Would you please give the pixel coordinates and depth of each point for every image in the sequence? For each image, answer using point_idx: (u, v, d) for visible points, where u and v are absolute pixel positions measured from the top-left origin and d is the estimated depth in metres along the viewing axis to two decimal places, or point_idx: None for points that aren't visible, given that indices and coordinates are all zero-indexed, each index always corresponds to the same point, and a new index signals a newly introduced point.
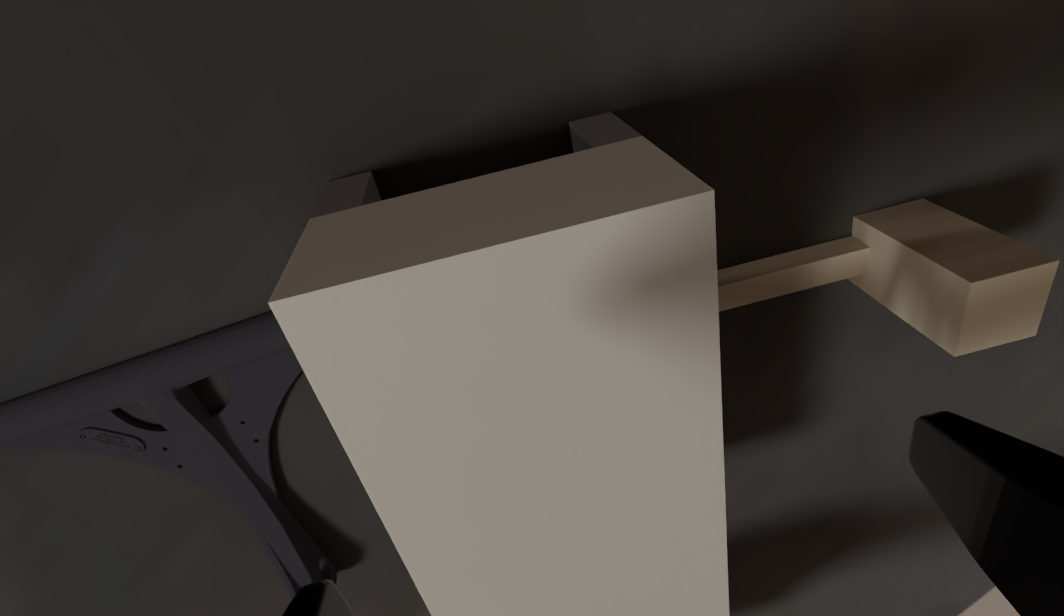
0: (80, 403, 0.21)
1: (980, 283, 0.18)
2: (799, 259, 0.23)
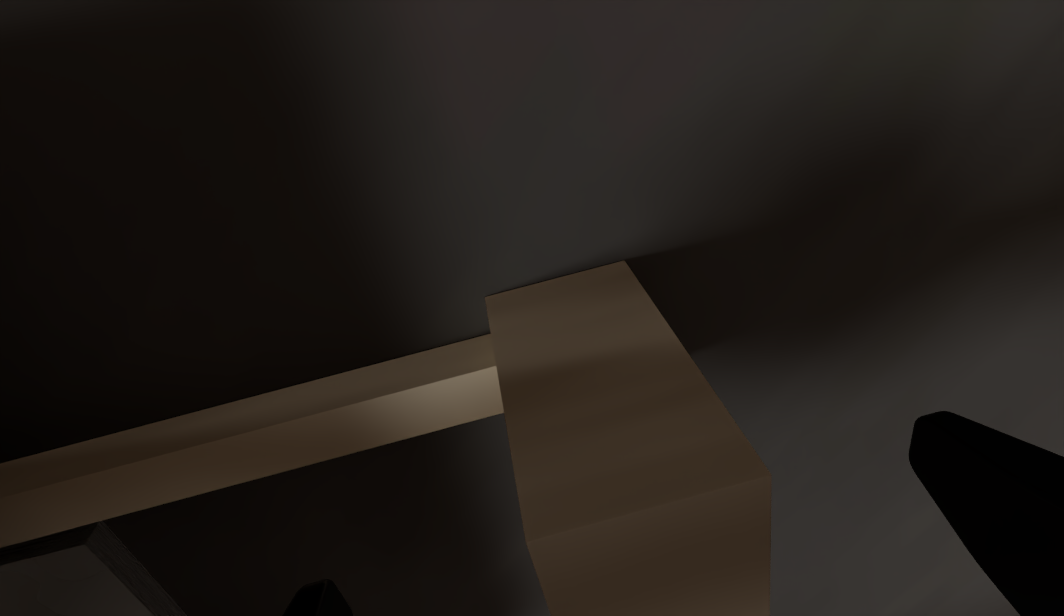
0: None
1: (554, 539, 0.07)
2: (367, 387, 0.12)
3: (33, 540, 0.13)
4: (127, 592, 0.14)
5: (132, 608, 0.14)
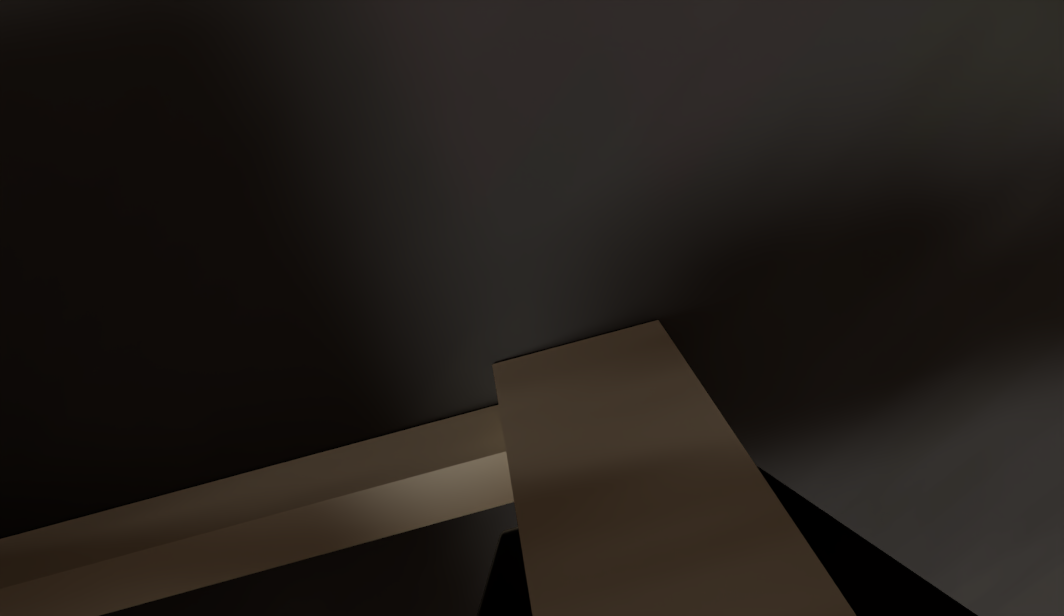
0: None
1: None
2: (352, 475, 0.10)
3: None
4: None
5: None
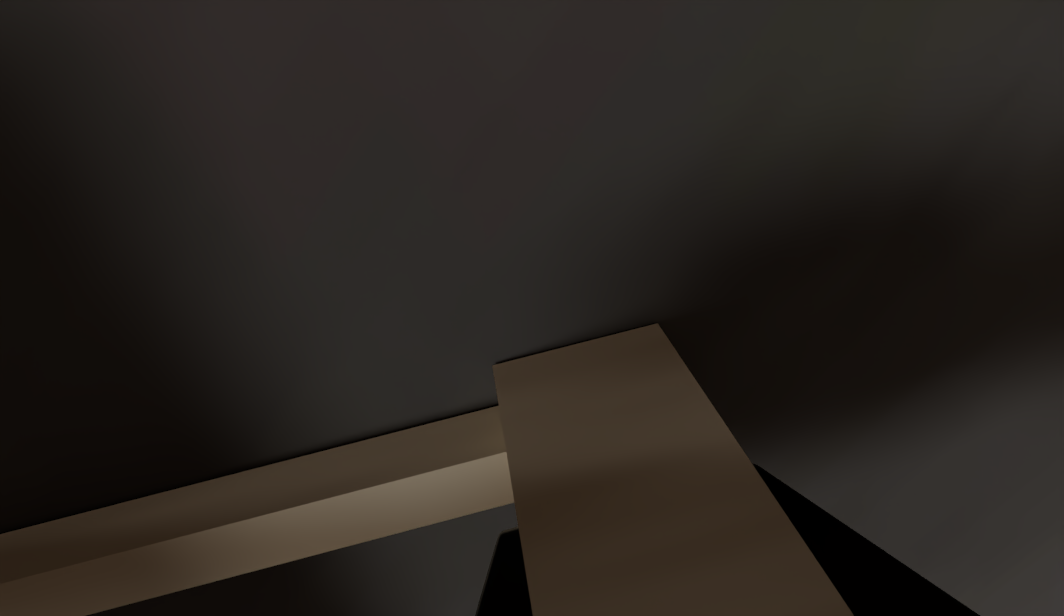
0: None
1: None
2: (351, 474, 0.10)
3: None
4: None
5: None
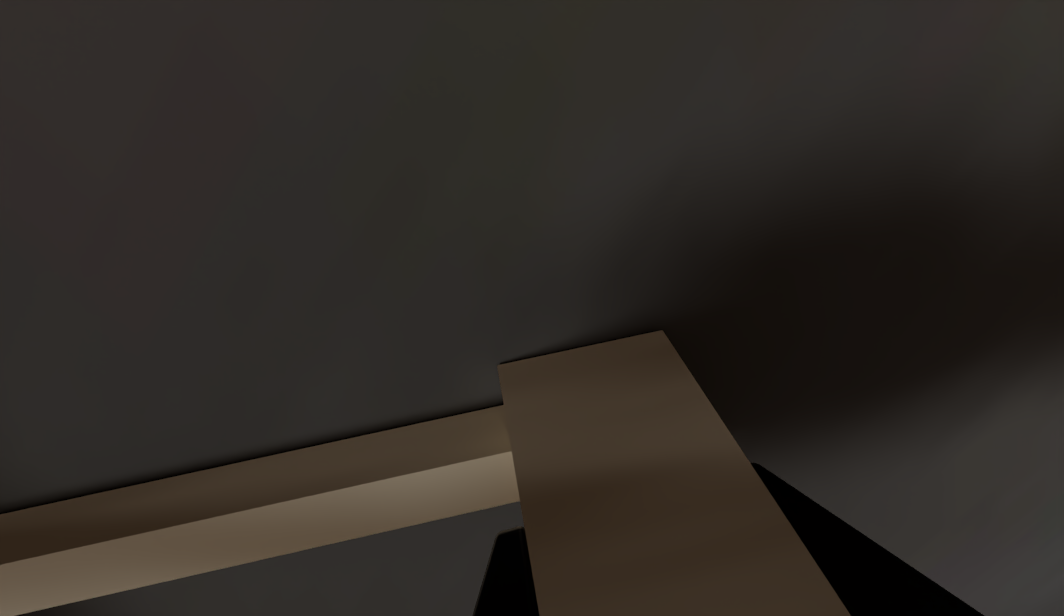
0: None
1: None
2: (351, 468, 0.10)
3: None
4: None
5: None
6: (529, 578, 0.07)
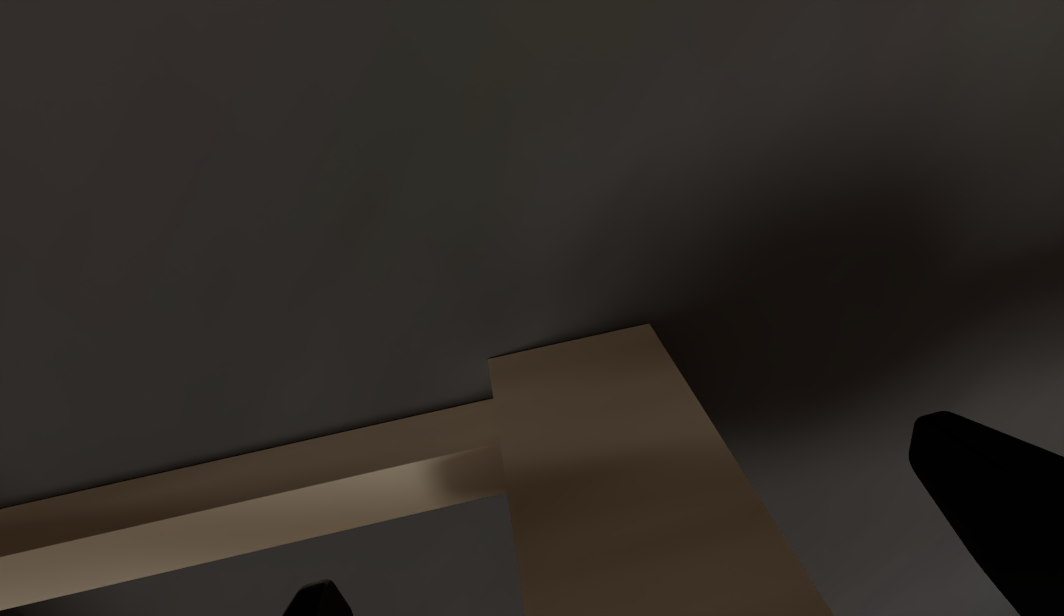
0: None
1: None
2: (347, 460, 0.10)
3: None
4: None
5: None
6: None
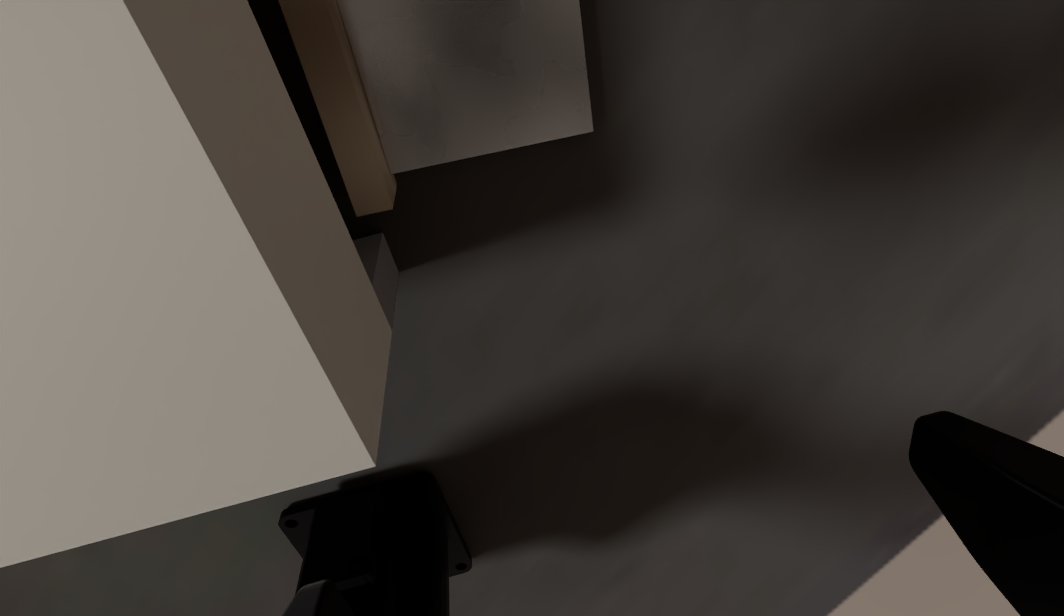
0: None
1: None
2: None
3: None
4: None
5: None
6: None
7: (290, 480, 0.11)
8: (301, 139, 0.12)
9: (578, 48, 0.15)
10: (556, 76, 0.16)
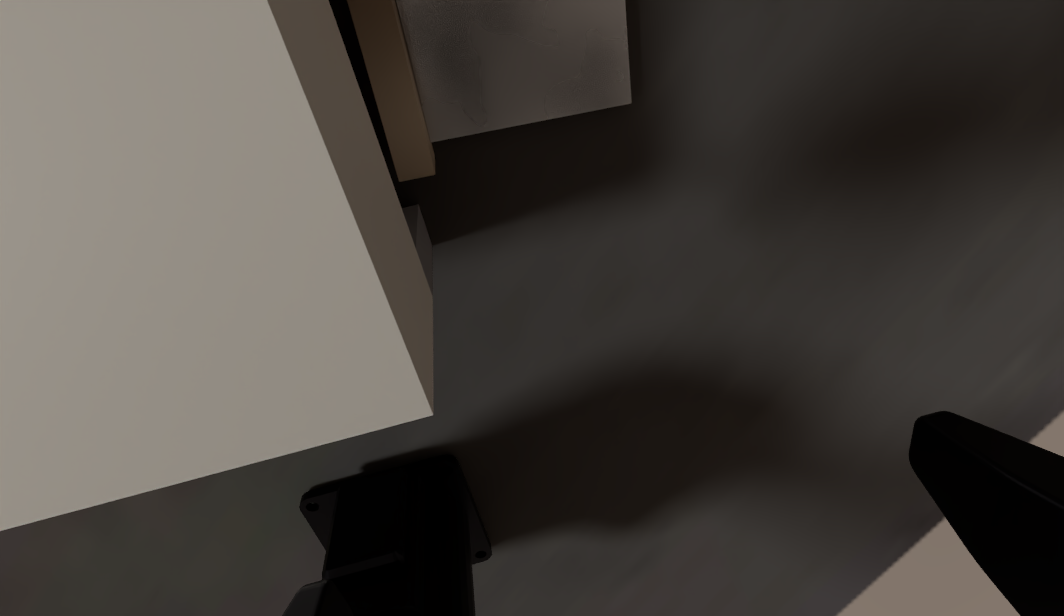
0: None
1: None
2: None
3: None
4: None
5: None
6: None
7: (347, 428, 0.11)
8: (357, 93, 0.13)
9: (620, 18, 0.16)
10: (597, 45, 0.16)
